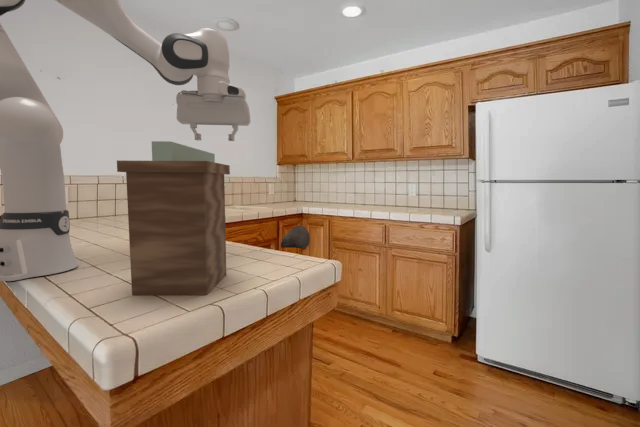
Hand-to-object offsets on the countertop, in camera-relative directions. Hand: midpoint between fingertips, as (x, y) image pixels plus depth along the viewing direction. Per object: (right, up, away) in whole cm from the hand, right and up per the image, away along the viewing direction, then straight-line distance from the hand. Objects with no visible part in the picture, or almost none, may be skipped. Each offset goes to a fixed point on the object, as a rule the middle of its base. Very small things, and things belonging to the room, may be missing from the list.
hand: (214, 140), depth 97 cm
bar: (+2, -11, -24) cm, 26 cm away
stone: (+23, -33, +14) cm, 42 cm away
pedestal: (+2, -36, -27) cm, 45 cm away
